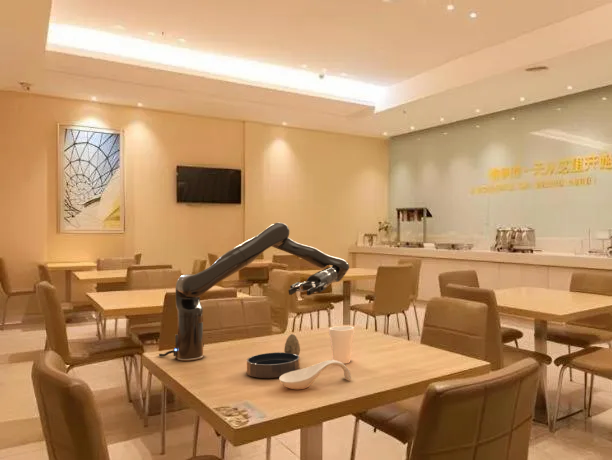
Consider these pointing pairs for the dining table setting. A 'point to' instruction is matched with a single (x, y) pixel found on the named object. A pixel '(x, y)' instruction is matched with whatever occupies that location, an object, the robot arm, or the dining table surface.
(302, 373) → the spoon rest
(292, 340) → the decorative egg
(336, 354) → the foam cup
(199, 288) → the robot arm
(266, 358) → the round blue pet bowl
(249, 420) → the dining table surface
